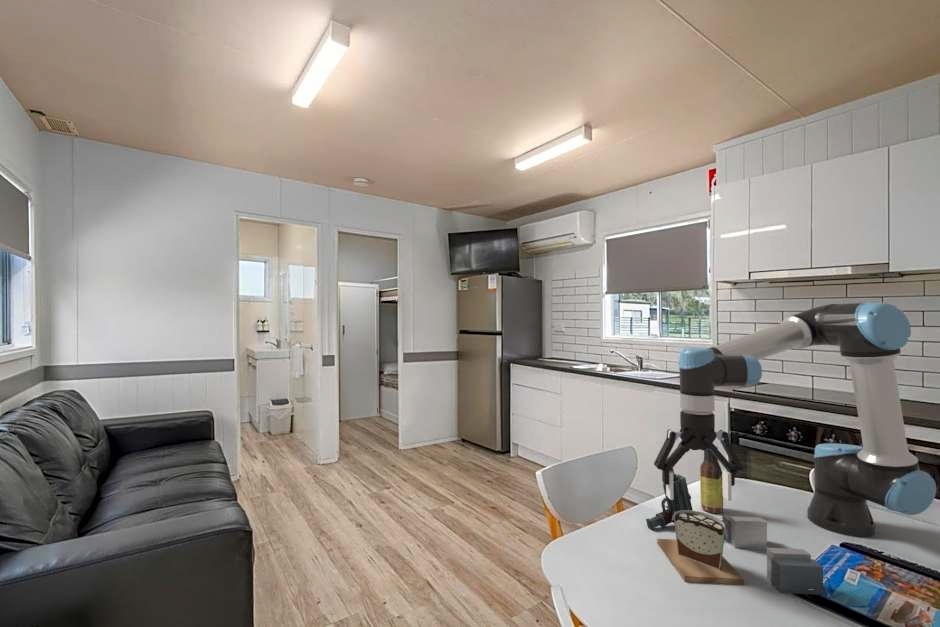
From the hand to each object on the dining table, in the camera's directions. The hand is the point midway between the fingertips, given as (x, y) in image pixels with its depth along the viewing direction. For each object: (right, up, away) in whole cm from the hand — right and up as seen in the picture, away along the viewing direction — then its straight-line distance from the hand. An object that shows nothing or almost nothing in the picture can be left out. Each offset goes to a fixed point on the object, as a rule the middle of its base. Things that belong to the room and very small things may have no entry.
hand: (698, 498), depth 108 cm
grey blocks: (+17, -16, +2) cm, 23 cm away
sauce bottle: (+19, -16, +30) cm, 39 cm away
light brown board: (0, -16, 0) cm, 16 cm away
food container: (+1, -15, -1) cm, 15 cm away
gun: (+2, -16, +19) cm, 25 cm away
